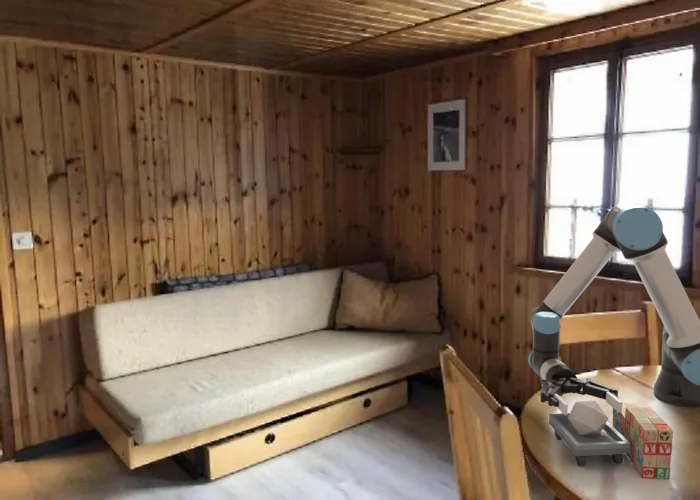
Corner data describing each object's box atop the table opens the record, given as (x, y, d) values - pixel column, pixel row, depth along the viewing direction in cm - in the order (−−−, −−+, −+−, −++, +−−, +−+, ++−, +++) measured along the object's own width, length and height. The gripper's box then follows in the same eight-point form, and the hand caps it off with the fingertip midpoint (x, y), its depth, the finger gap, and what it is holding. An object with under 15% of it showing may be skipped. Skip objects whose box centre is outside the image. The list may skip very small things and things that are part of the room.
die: (603, 446, 134) (618, 410, 136) (570, 428, 135) (586, 392, 137) (588, 442, 142) (603, 408, 144) (558, 425, 143) (573, 391, 145)
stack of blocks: (611, 434, 149) (613, 391, 147) (636, 435, 148) (638, 392, 146) (641, 479, 128) (644, 429, 126) (670, 480, 127) (673, 430, 125)
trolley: (596, 433, 150) (597, 412, 149) (629, 467, 133) (630, 443, 132) (548, 435, 149) (549, 413, 148) (575, 469, 132) (576, 445, 132)
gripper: (601, 387, 158) (642, 420, 137) (514, 390, 158) (542, 425, 137) (602, 362, 157) (643, 392, 136) (515, 365, 157) (543, 396, 136)
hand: (593, 408), depth 136 cm, fingers open, 13 cm apart
